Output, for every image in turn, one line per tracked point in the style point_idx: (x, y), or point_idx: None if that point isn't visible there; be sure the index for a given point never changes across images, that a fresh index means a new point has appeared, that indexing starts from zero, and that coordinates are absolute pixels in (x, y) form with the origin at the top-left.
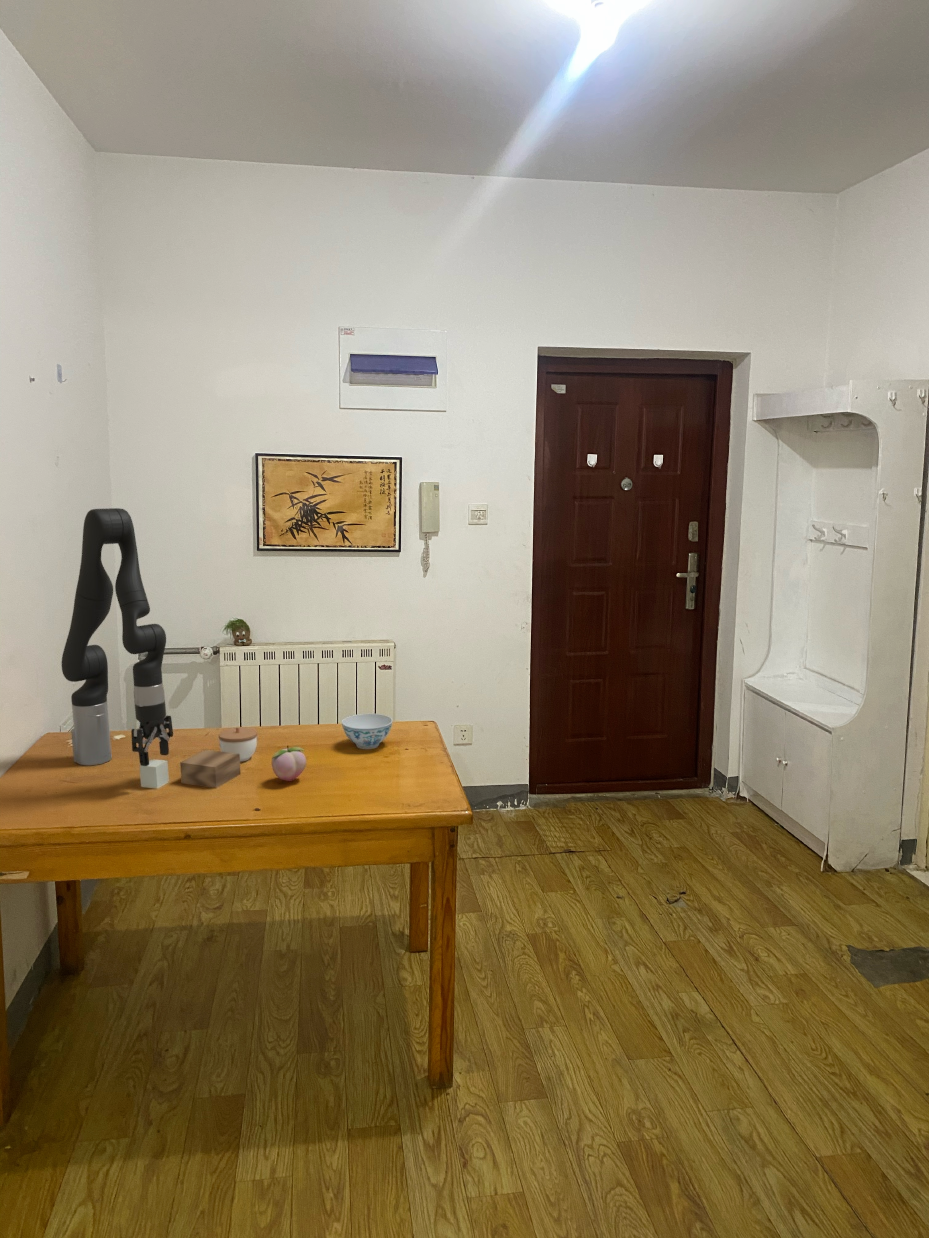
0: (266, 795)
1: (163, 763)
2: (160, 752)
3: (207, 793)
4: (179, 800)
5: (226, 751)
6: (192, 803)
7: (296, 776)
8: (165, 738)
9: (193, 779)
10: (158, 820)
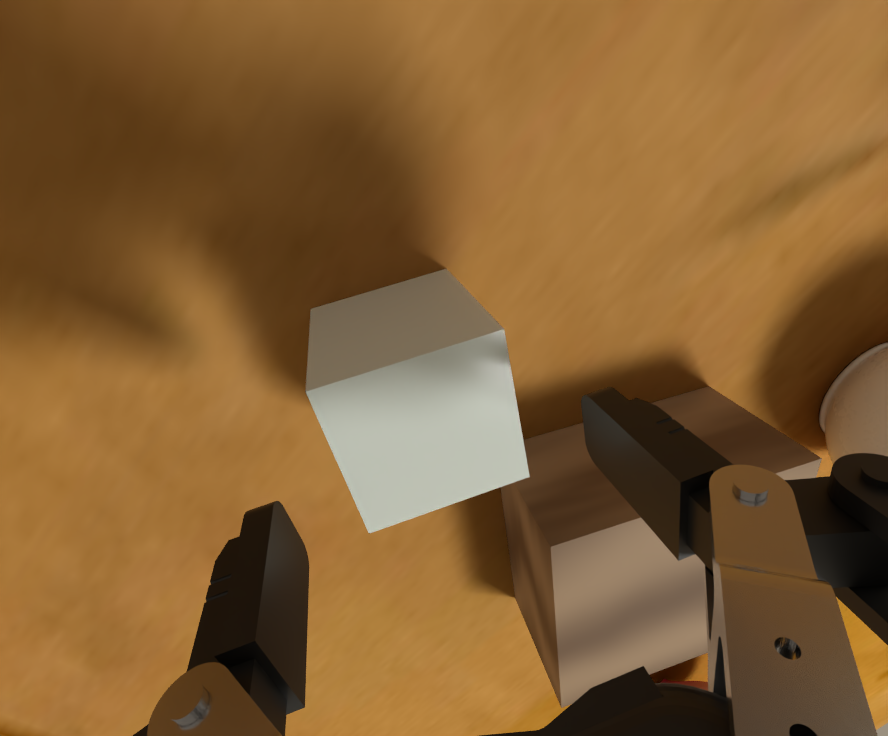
0: (534, 725)
1: (473, 492)
2: (593, 408)
3: (449, 620)
4: (317, 616)
5: (863, 448)
6: (331, 666)
7: None
8: (706, 620)
9: (513, 532)
10: (97, 731)
